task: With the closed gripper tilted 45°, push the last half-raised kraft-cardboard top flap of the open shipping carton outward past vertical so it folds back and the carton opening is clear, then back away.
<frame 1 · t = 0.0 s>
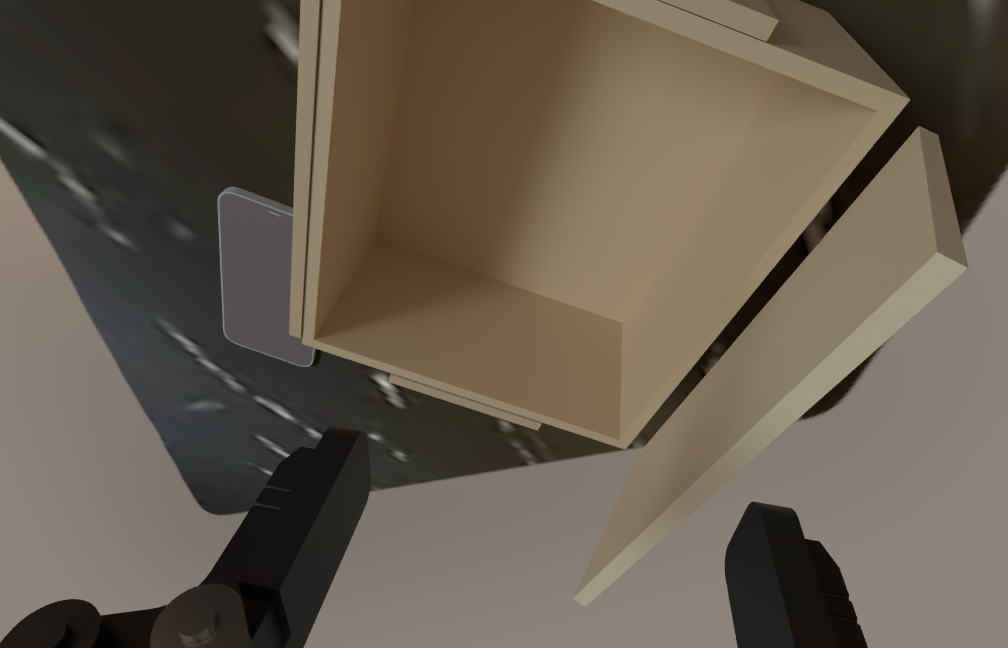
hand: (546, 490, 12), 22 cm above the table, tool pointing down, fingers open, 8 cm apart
smartphone: (277, 281, 41), on the table
flap: (725, 404, 20), point 15 cm above the table, hinge at 70.0°
carton: (551, 147, 30), on the table
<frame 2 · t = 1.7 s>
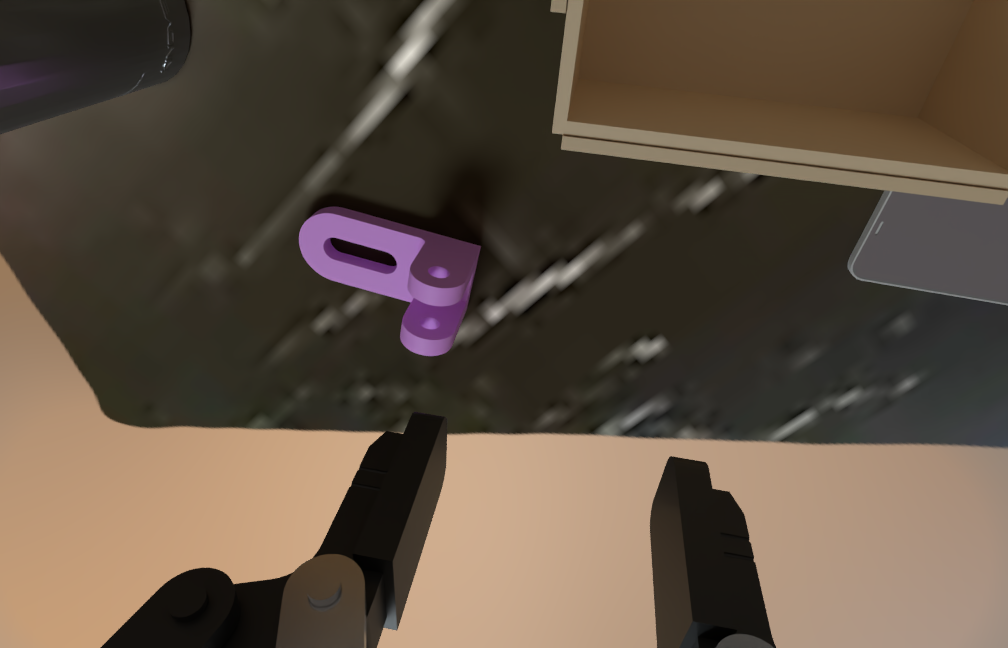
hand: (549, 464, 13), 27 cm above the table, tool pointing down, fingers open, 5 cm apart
smartphone: (987, 239, 35), on the table
bracket: (391, 252, 43), on the table
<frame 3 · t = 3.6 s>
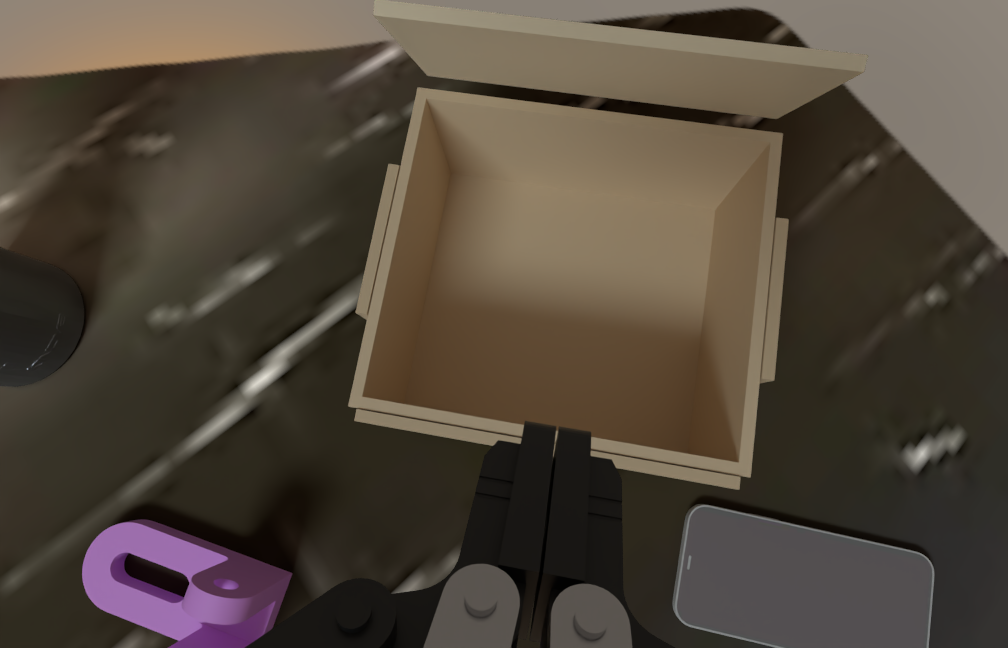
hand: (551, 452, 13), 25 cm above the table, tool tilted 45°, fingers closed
smartphone: (796, 584, 36), on the table
bracket: (190, 580, 38), on the table
flap: (603, 67, 26), point 15 cm above the table, hinge at 70.0°
carton: (561, 307, 39), on the table
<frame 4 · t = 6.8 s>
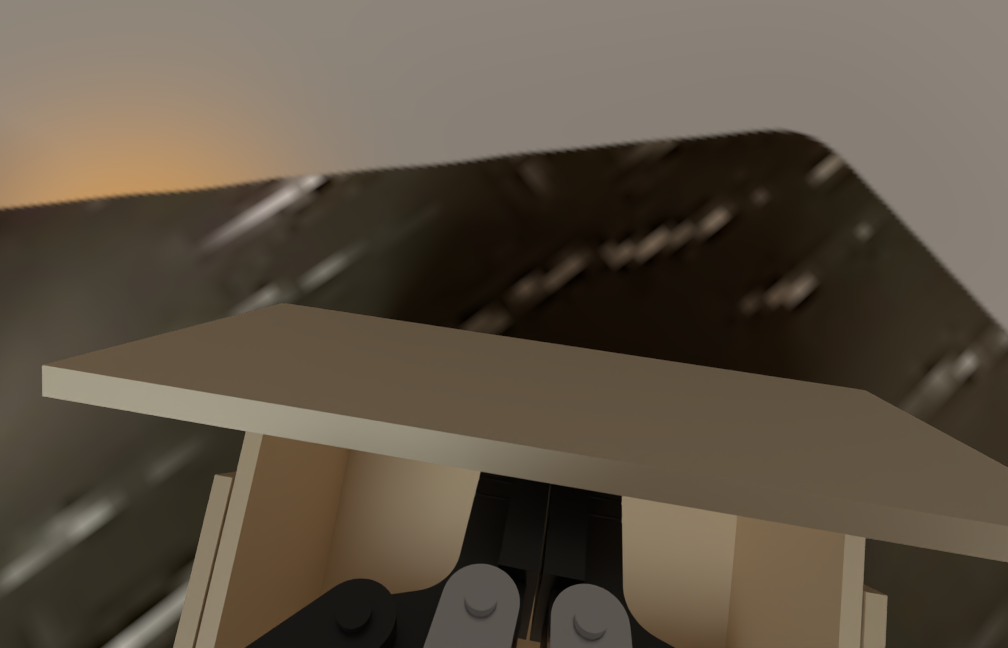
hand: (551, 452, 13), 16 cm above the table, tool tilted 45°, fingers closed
flap: (556, 392, 14), point 15 cm above the table, hinge at 70.0°, touching gripper
carton: (522, 584, 27), on the table
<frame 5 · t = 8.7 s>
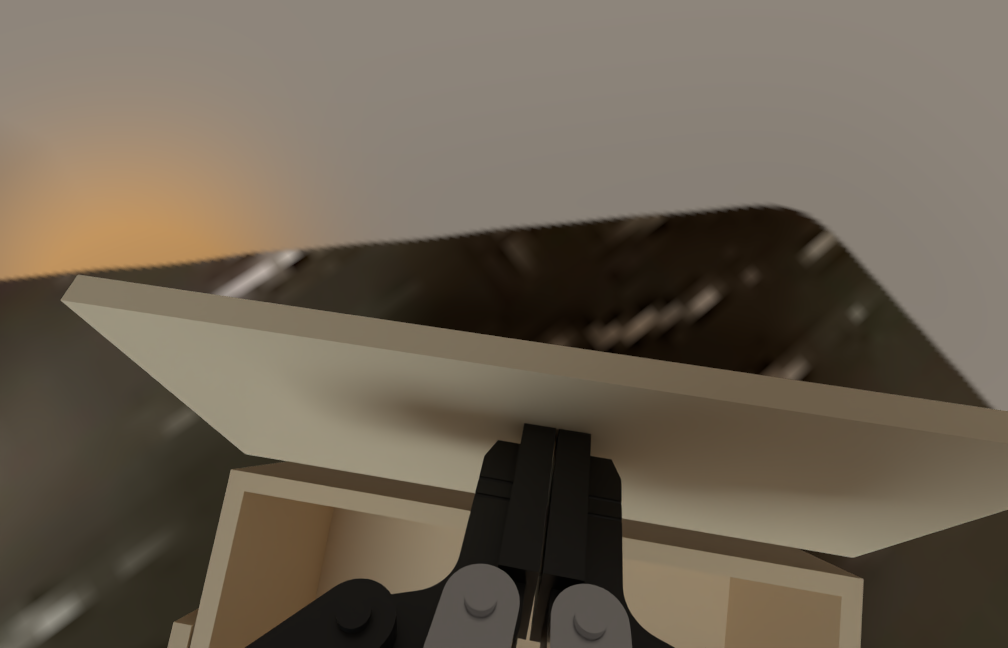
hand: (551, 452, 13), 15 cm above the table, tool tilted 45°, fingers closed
flap: (546, 445, 14), point 14 cm above the table, hinge at 111.3°, touching gripper
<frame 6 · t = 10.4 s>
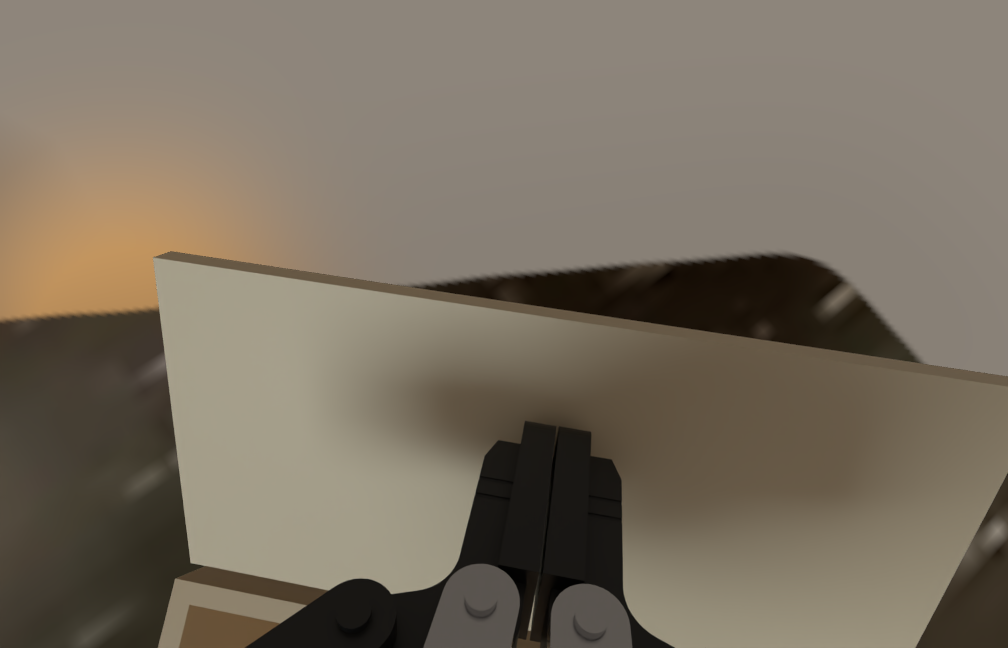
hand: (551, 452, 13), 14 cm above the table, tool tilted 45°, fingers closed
flap: (542, 485, 14), point 12 cm above the table, hinge at 148.5°
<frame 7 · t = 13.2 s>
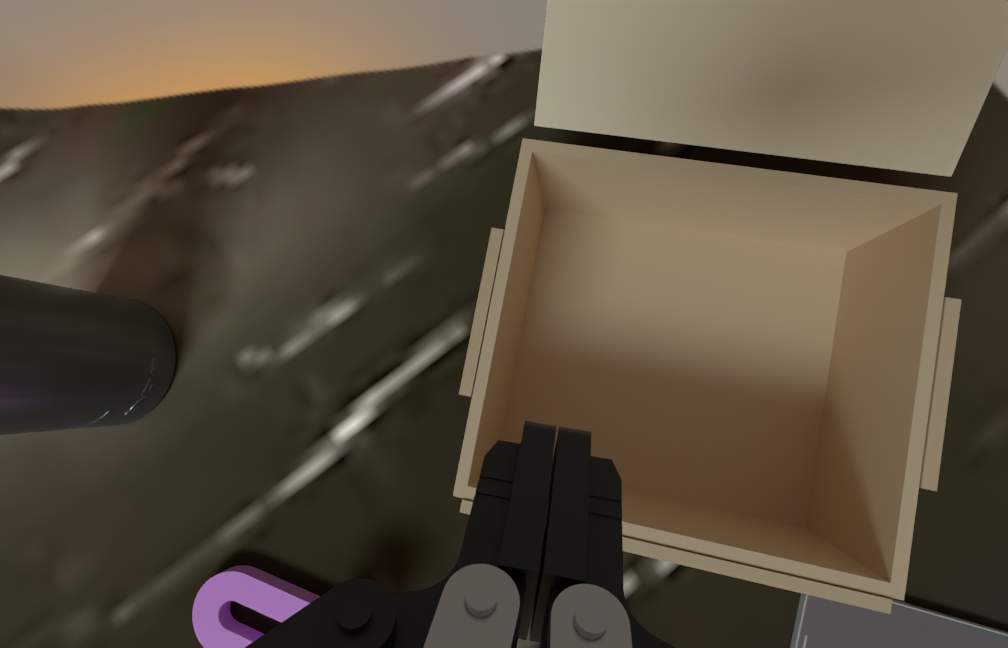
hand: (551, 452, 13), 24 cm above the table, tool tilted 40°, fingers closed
bracket: (293, 628, 38), on the table
flap: (757, 44, 25), point 12 cm above the table, hinge at 148.7°
carton: (666, 359, 36), on the table
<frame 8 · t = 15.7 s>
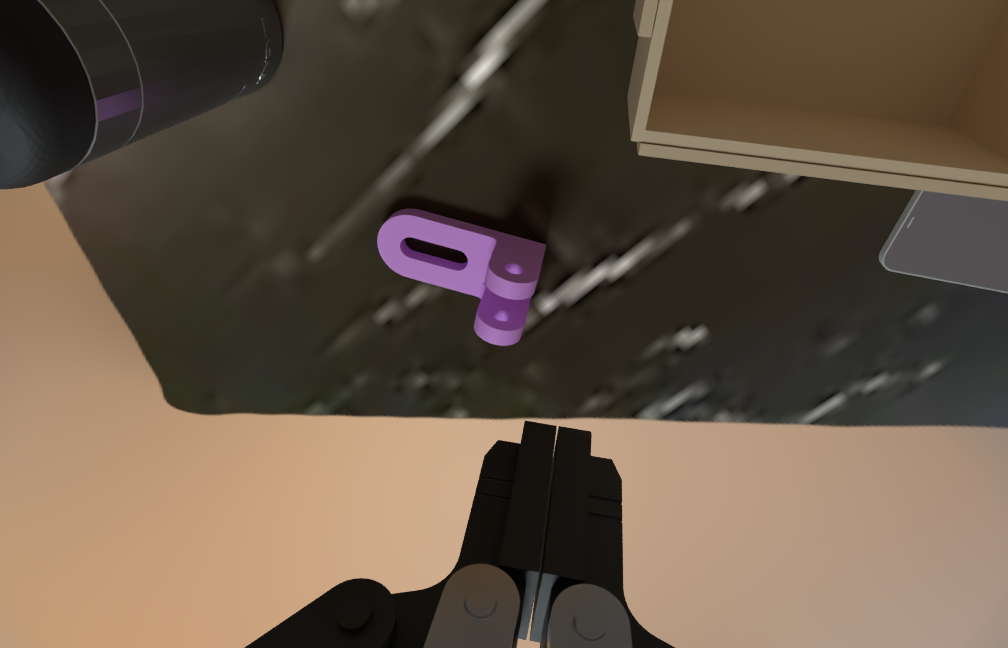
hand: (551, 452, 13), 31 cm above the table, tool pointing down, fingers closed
smartphone: (1007, 235, 39), on the table
bracket: (460, 251, 46), on the table
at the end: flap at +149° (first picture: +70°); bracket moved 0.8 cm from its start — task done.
